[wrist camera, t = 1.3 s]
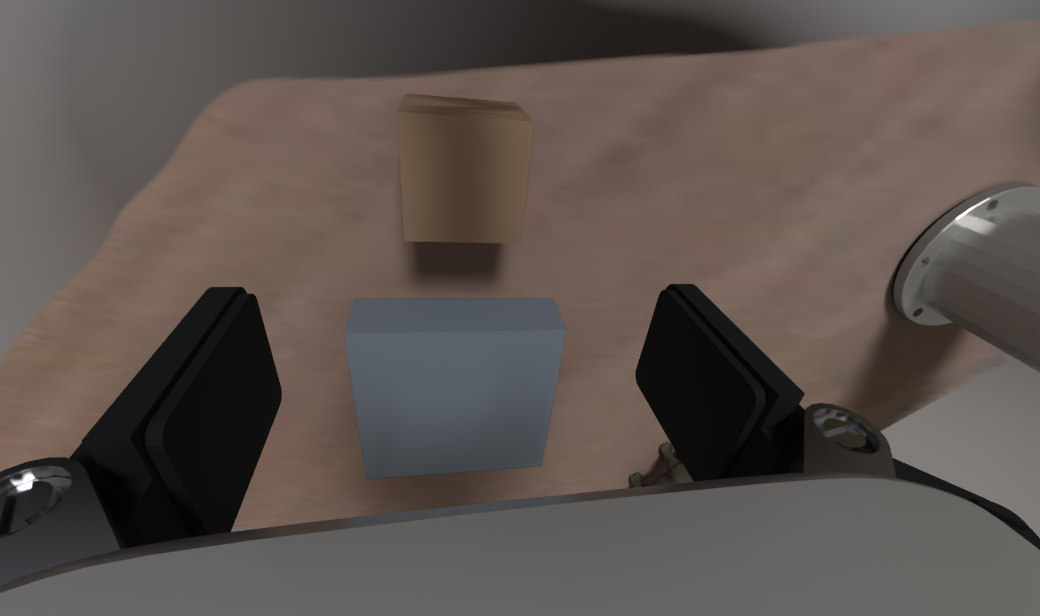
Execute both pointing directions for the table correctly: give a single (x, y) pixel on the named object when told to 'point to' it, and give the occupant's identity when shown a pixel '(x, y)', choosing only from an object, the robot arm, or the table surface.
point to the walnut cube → (463, 169)
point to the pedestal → (453, 382)
